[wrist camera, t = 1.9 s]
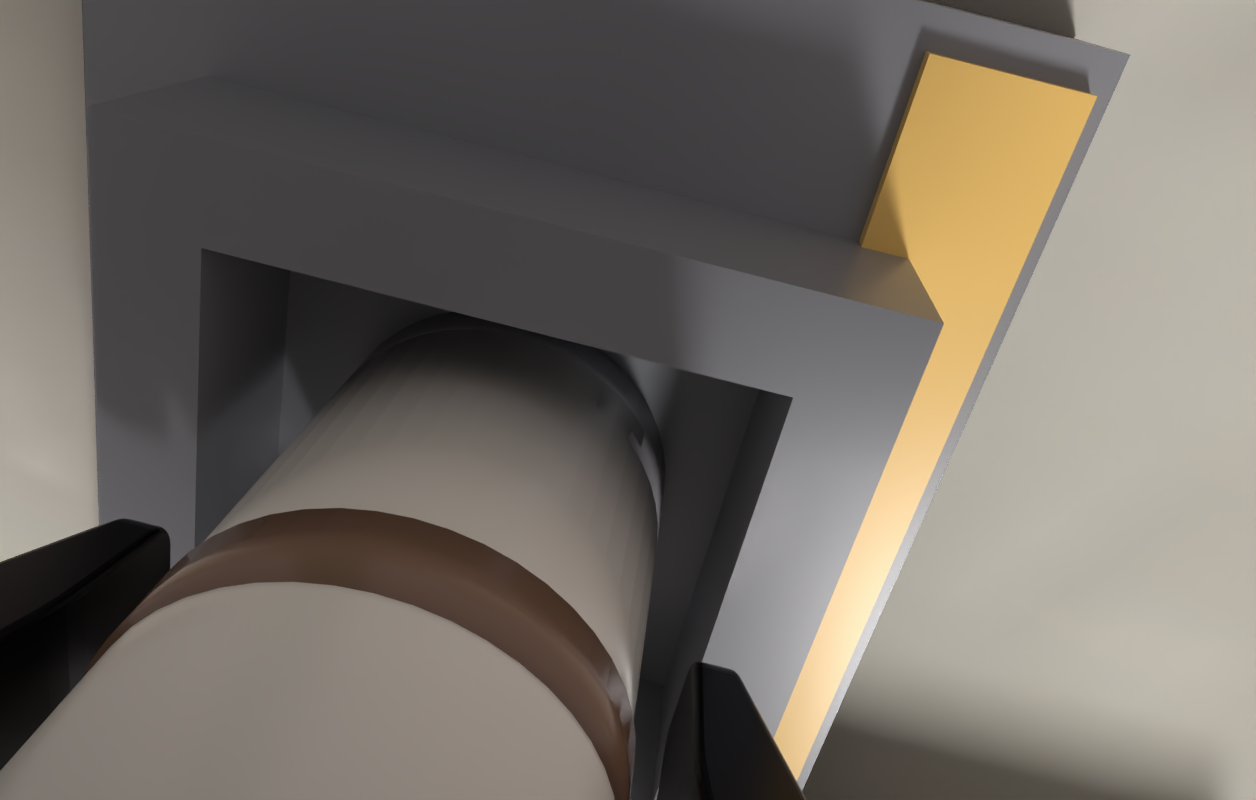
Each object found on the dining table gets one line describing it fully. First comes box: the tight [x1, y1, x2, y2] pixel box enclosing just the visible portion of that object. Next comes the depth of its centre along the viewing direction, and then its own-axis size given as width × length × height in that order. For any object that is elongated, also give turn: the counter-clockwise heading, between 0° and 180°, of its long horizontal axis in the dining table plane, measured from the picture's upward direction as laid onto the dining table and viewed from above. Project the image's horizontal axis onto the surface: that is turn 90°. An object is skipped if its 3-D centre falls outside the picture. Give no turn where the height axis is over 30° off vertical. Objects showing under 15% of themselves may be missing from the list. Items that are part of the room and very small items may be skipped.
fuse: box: [0, 312, 665, 800], centre depth 8 cm, size 4×4×8 cm
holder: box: [82, 0, 1130, 800], centre depth 11 cm, size 12×10×4 cm
